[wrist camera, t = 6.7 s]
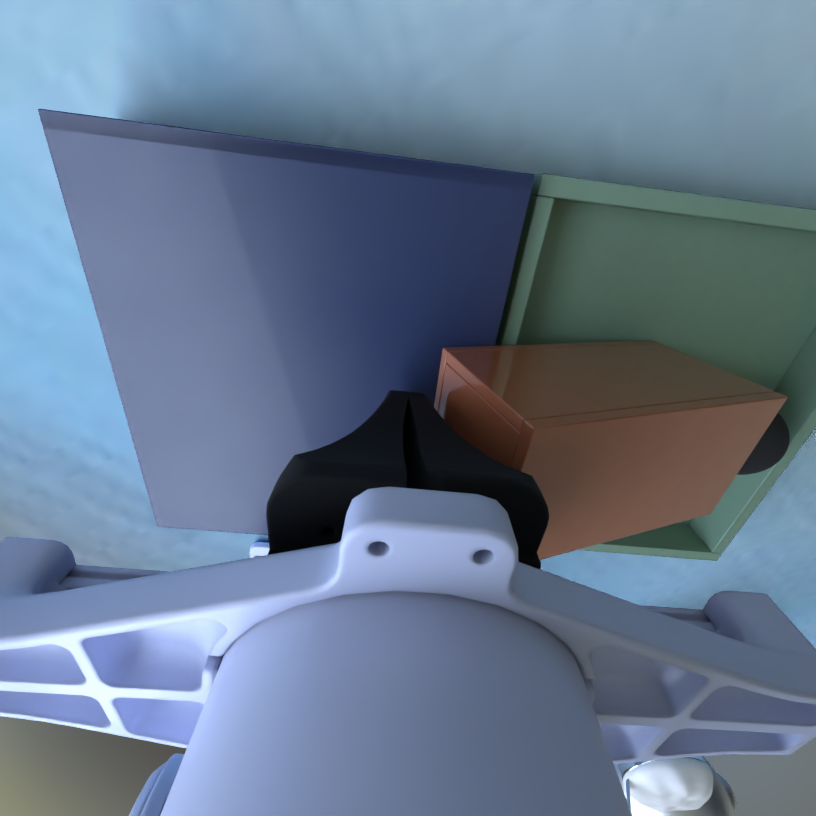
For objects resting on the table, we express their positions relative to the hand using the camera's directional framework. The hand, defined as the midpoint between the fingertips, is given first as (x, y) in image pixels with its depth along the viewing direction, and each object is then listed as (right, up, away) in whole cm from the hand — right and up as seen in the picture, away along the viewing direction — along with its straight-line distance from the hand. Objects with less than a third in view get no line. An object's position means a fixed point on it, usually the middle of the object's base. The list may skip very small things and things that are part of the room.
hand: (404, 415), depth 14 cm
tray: (+10, +1, +4) cm, 11 cm away
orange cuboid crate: (+6, +1, +2) cm, 6 cm away
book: (-4, +2, +3) cm, 6 cm away
